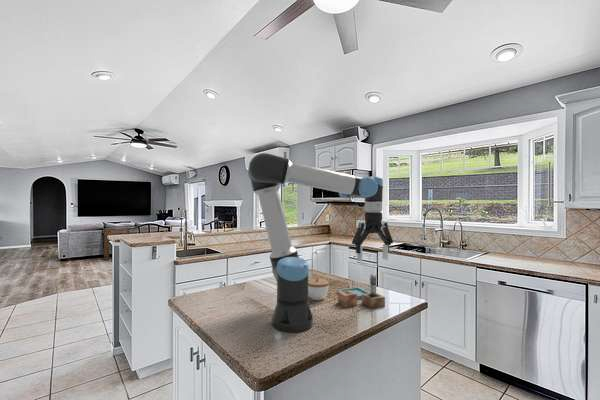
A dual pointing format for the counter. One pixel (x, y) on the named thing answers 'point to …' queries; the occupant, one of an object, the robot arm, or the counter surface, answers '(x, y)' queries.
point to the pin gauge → (373, 285)
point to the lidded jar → (317, 288)
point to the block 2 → (373, 300)
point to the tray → (356, 291)
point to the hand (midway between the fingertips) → (372, 260)
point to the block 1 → (347, 298)
